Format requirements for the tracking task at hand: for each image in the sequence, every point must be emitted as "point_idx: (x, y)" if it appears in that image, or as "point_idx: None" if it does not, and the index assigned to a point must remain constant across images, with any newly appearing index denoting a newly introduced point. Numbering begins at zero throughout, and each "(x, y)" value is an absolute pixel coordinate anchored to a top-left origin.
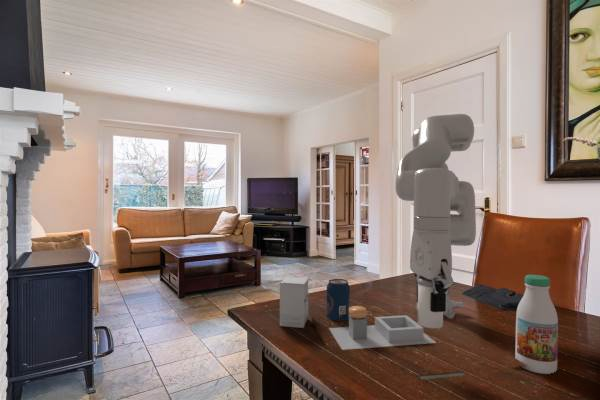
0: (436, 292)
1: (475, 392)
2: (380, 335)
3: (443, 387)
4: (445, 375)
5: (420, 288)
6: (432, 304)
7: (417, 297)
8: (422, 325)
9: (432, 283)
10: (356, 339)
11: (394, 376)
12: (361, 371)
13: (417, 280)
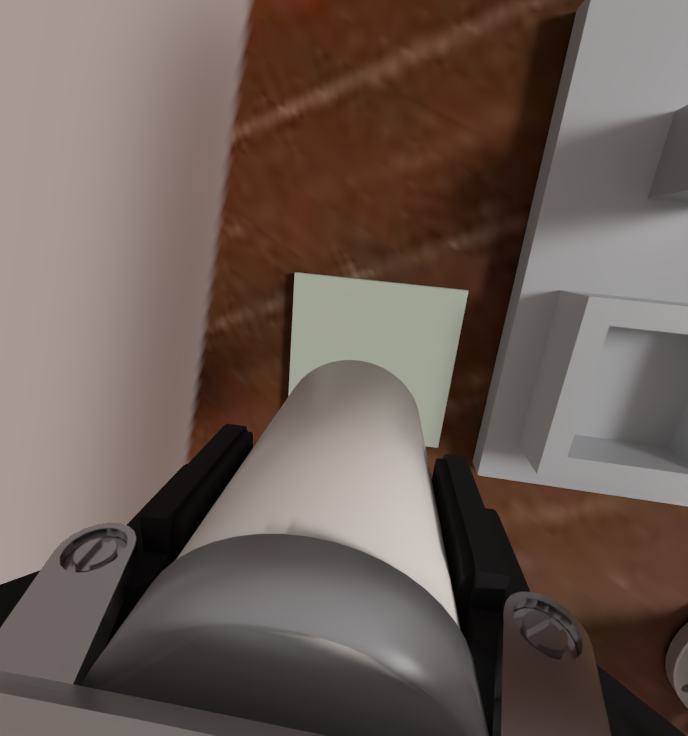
0: (74, 546)
1: (206, 386)
2: (650, 292)
3: (242, 316)
4: (290, 363)
5: (294, 502)
6: (202, 453)
7: (457, 478)
8: (328, 363)
9: (57, 641)
10: (668, 132)
11: (337, 189)
12: (408, 59)
13: (542, 657)
